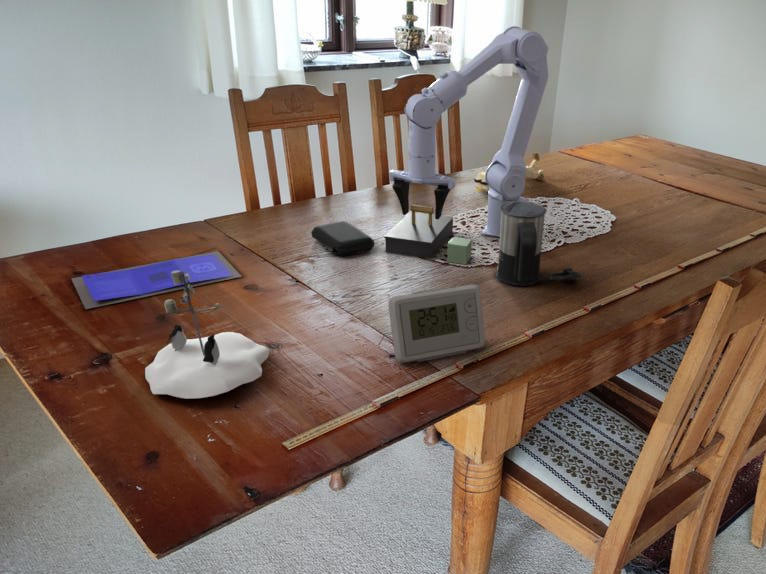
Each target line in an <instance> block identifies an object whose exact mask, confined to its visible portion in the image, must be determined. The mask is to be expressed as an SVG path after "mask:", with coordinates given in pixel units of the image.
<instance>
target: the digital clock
mask: <svg viewBox="0 0 766 574" xmlns="http://www.w3.org/2000/svg"><path fill="white" fill-rule="evenodd" d="M387 302H388V313H389V320H390V328H391V336H392V344H393V351H394V357H395V360H396V362H397V363H398V364H406V363H407V364H408V363H411V362H412V363H413V362H416V363H421V362H425V361H432V360H436V359H440V358H447V357H452V356H458V355H461V354H466V353H467V352H470V351H474V350H479V349H483V348H484V347H485V345H486V335H485V324H484V314H483V305H482V303H483V302H482V295H481V288H480V286H479V285H478V284H466V285H459V286H457V285H453V286H447V287H446V286H445V287H439V288H434V289H427V290H420V291H413V292H411V293H407V294H401V295H395V296H391V297H390V298H389V299H388V301H387Z"/></svg>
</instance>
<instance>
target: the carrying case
mask: <svg viewBox="0 0 766 574" xmlns="http://www.w3.org/2000/svg"><path fill="white" fill-rule="evenodd" d="M310 233H311V237H312V238H313V239H315V240H316V241H317V242H319V243H320V244H322V245H323V249H324V250H325V251H326V252H330V253H332V254H336V255H337V256H340V257H346V256H351V255H355V254H359V253H364V252H365V253H366V252H368V251H369V252H370V251H371V250H372V249H373V248H374V247H375V245H376V242H375V240H374V239H373V238H372V237H371V236H369V235H368V234H367V233H365V232H364V231H362V230H361V229H359V228H358V227H356V226H354V225H353V224H351V223H350V222H348V221H345V220H340V221H334V222H330V223H323V224H320V225H315V226H314V227H313V229H312V230H311V232H310Z"/></svg>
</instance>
